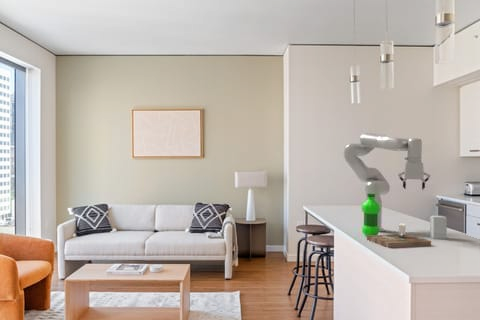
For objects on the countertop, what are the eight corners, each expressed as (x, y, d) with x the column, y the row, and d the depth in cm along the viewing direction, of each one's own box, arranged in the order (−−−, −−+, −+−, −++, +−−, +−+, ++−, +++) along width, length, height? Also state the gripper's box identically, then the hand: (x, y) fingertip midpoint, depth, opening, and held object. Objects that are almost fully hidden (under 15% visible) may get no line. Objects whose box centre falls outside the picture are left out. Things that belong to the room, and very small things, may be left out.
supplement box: (446, 239, 235) (447, 217, 235) (432, 238, 237) (433, 216, 236) (443, 237, 242) (443, 215, 242) (429, 236, 244) (430, 215, 244)
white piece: (398, 239, 219) (398, 226, 219) (399, 235, 231) (399, 223, 231) (404, 240, 218) (404, 227, 218) (405, 235, 230) (405, 223, 230)
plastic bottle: (371, 234, 248) (372, 192, 248) (383, 237, 238) (384, 194, 238) (357, 235, 245) (358, 193, 245) (369, 238, 235) (369, 194, 235)
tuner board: (366, 239, 231) (366, 234, 231) (406, 238, 238) (406, 233, 237) (388, 247, 212) (388, 242, 212) (431, 245, 218) (431, 240, 218)
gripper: (398, 159, 239) (397, 188, 239) (430, 160, 232) (430, 190, 232) (398, 159, 246) (398, 187, 246) (430, 159, 239) (429, 189, 239)
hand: (413, 189), depth 239 cm, fingers open, 9 cm apart
